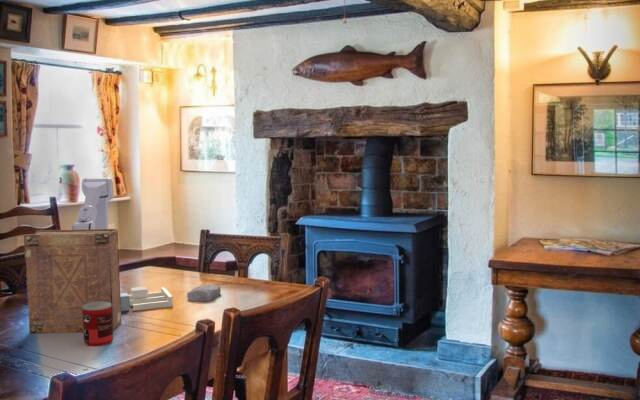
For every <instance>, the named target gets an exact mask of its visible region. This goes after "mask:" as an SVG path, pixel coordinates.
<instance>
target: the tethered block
mask: <svg viewBox="0 0 640 400" xmlns="http://www.w3.org/2000/svg"><path fill="white" fill-rule="evenodd" d="M129 295H130V294H128V292H122V293H121V292H120V300H121V312H127V311H130V301H129Z"/></svg>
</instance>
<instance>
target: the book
mask: <svg viewBox="0 0 640 400" xmlns="http://www.w3.org/2000/svg"><path fill="white" fill-rule="evenodd" d="M118 231H119V230H118V229H116V228H110V229H109V228H108V229H90V230H72V229H46V230H36V231H35V233H34V234H24V235H23V246H24V247H23V248H24V262H25V276H26V295H27V296H26V297H27V313H28V329H29V333H30V334H54V333H55V334H57V333H58V334H63V333H65V334H66V333H84V329H83V310H82V308H83V305H84V304H87V303H91V302H99V301H104V302H110V303H111V305H112V325H113V331H115V330H116V329H117V328H118V327H119V326H120V324H121V323H122V311H121V300H120V293H121V277H120V256H119V253H120V252H119V251H120V250H119V232H118Z"/></svg>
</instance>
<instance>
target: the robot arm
mask: <svg viewBox="0 0 640 400" xmlns="http://www.w3.org/2000/svg"><path fill="white" fill-rule="evenodd" d="M81 191H82V193H83V195H84V196H85V197H84V205H82V206H81V207H80V208H79V211H78V215H77V219H76V222H75V223H72V226H71V230H90V229H109V201H112V200H113V199H114V181H113V179H112V178H111V177H110V176H107V177H84V178H83V179H82V182H81Z"/></svg>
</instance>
